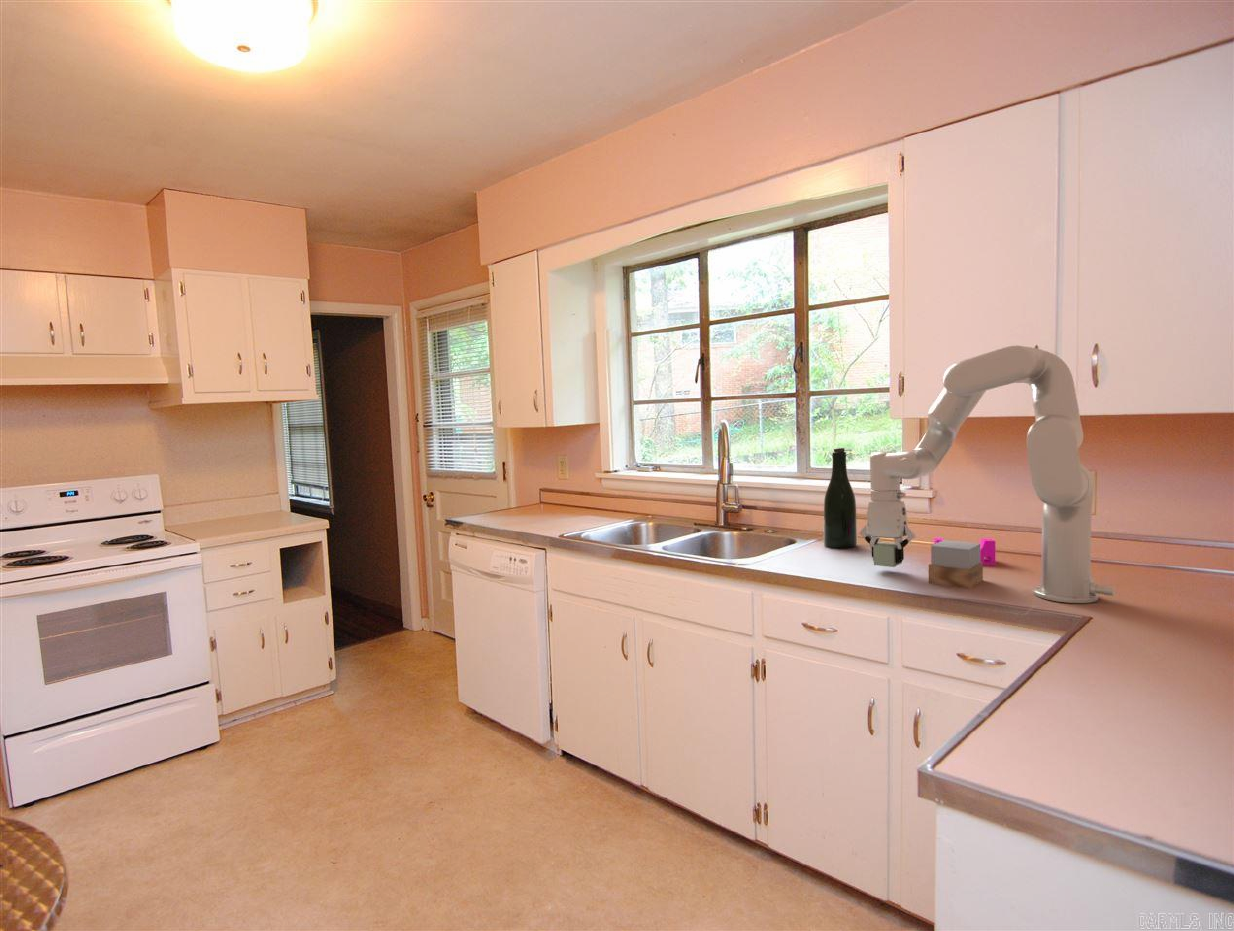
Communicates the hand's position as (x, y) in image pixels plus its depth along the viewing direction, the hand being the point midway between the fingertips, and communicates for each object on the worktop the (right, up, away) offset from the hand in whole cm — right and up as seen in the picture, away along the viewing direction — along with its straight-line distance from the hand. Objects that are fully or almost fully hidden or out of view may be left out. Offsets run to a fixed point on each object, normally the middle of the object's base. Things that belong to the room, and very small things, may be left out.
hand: (887, 560), depth 184 cm
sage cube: (0, -1, 0) cm, 1 cm away
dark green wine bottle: (-1, -1, +36) cm, 36 cm away
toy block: (+25, -2, +7) cm, 26 cm away
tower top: (+13, +1, -12) cm, 18 cm away
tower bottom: (+13, -4, -12) cm, 18 cm away
